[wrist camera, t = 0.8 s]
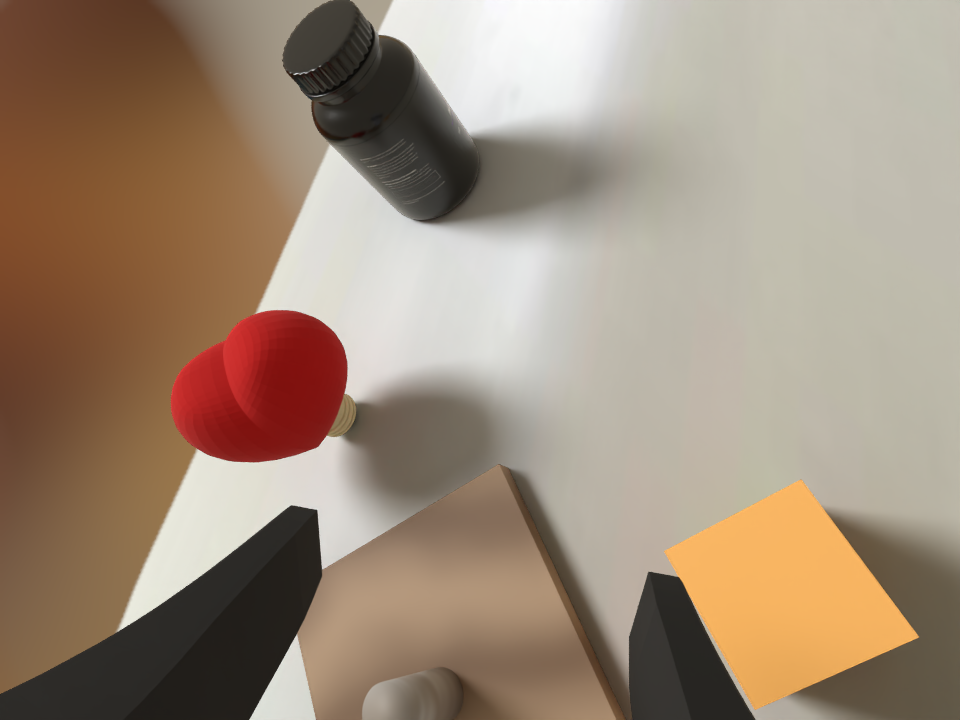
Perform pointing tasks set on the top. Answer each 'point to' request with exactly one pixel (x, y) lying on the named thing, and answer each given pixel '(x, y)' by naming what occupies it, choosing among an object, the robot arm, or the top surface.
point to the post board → (452, 621)
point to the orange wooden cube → (786, 595)
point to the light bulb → (265, 390)
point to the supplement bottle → (381, 111)
